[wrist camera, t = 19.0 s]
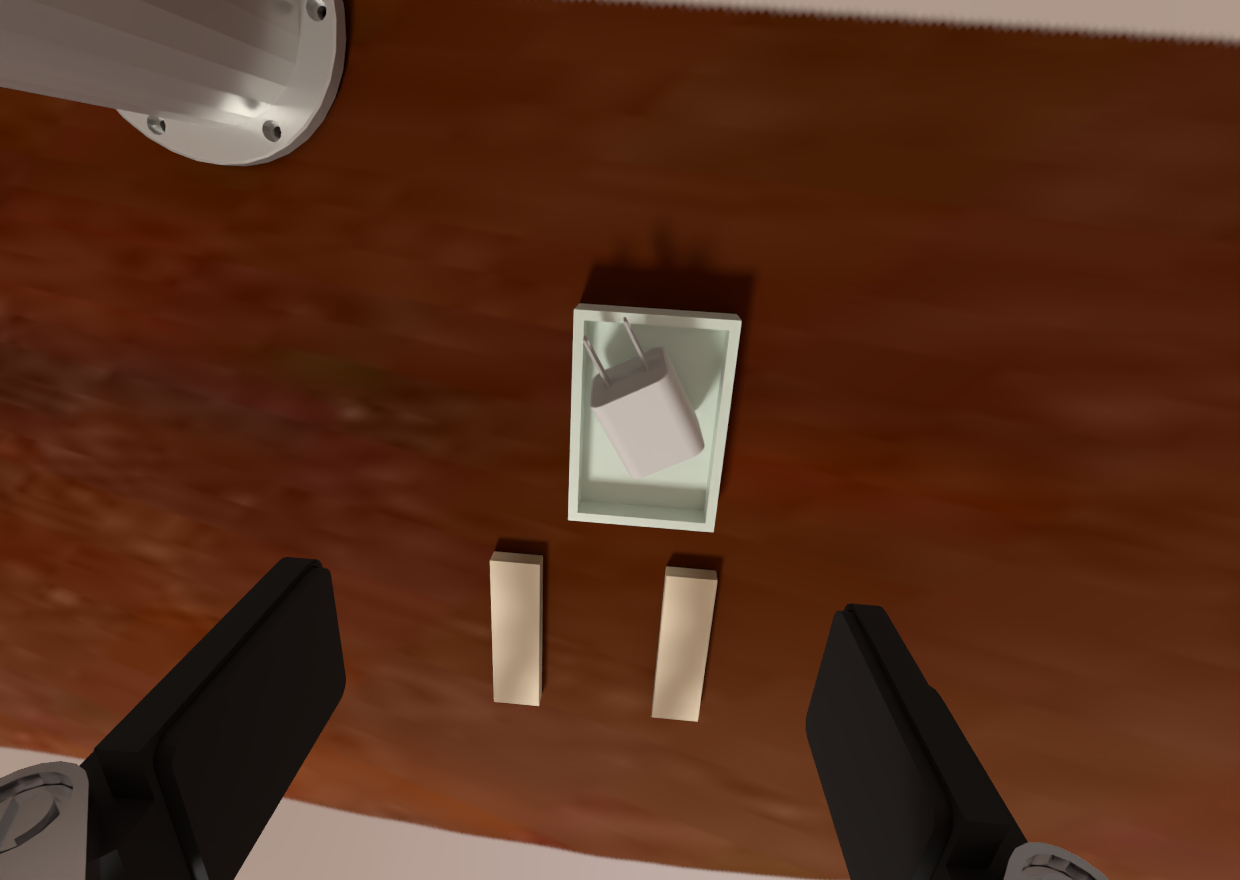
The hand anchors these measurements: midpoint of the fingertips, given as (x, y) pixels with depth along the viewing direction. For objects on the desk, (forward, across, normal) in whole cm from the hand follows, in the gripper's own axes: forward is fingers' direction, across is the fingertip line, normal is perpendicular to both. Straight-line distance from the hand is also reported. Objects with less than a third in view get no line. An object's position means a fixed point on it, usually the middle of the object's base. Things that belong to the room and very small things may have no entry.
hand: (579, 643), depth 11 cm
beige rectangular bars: (+21, 0, +18) cm, 28 cm away
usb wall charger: (+20, -1, +1) cm, 20 cm away
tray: (+21, -2, +3) cm, 22 cm away
